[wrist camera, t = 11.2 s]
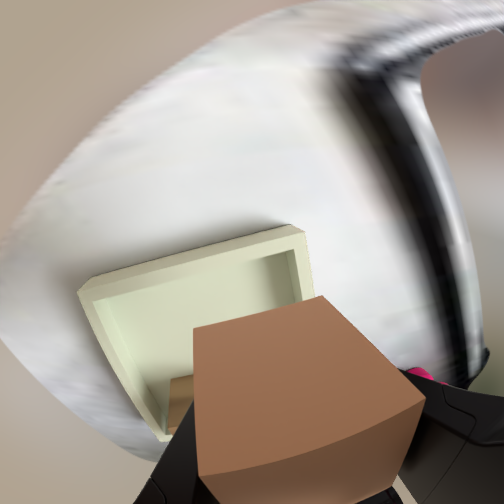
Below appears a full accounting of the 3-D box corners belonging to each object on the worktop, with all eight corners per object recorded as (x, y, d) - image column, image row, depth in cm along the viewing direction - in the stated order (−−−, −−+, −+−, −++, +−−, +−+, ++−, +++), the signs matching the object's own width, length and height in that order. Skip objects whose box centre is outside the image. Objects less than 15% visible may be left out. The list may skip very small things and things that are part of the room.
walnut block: (236, 403, 20) (246, 450, 16) (188, 413, 20) (190, 460, 15) (222, 367, 19) (231, 416, 15) (170, 378, 19) (167, 428, 14)
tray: (315, 381, 22) (326, 401, 20) (161, 420, 20) (160, 442, 18) (290, 224, 18) (304, 231, 16) (90, 277, 17) (76, 292, 14)
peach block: (328, 387, 10) (391, 486, 5) (224, 416, 9) (248, 534, 4) (321, 295, 9) (426, 397, 4) (192, 328, 8) (198, 476, 3)
